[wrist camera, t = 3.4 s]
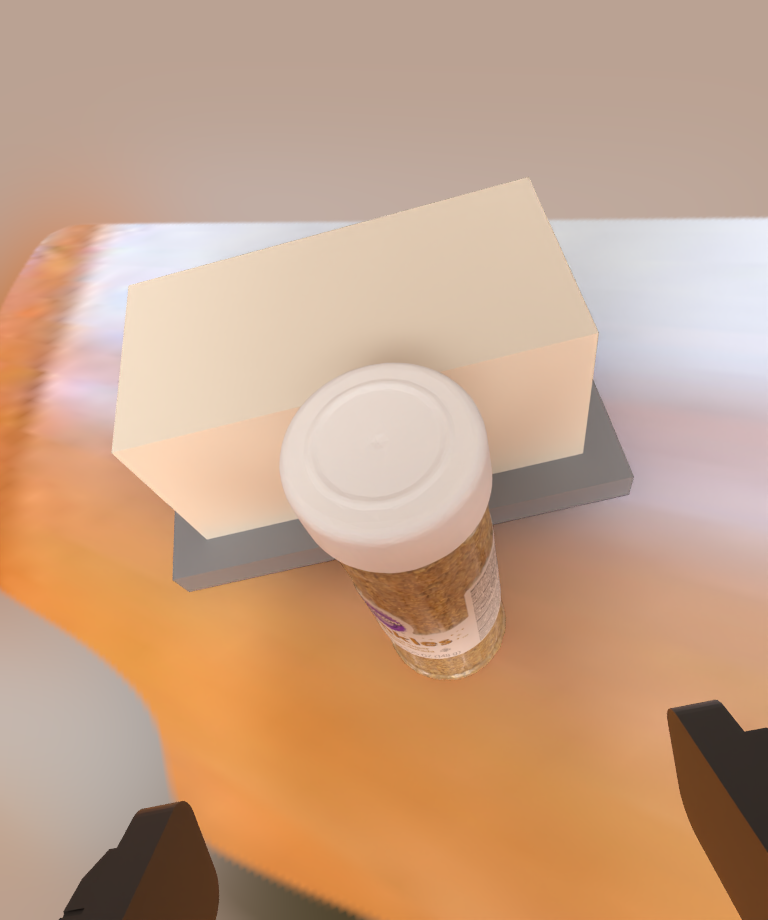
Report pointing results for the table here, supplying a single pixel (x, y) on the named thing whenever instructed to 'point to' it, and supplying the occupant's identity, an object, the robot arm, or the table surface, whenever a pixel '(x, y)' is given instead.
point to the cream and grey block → (353, 346)
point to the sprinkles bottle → (404, 508)
